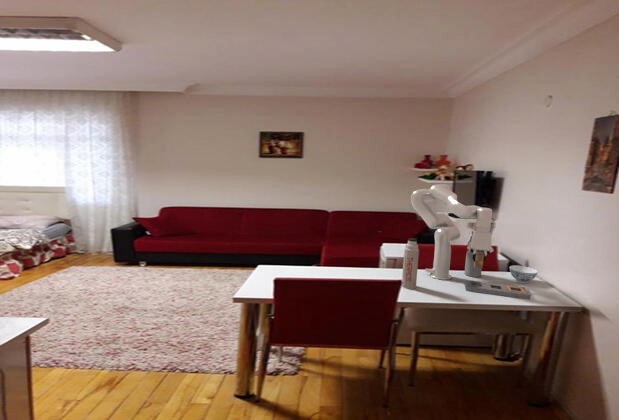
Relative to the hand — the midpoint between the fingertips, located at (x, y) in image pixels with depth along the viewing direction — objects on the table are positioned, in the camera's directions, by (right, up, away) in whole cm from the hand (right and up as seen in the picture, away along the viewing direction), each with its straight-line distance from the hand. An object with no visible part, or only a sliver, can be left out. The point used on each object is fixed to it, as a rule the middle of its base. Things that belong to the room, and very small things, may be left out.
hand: (478, 260), depth 206 cm
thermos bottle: (-39, -15, +2) cm, 42 cm away
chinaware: (+35, -15, +18) cm, 42 cm away
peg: (0, -4, +1) cm, 4 cm away
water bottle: (+9, -13, +26) cm, 31 cm away
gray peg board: (+9, -17, -1) cm, 19 cm away
